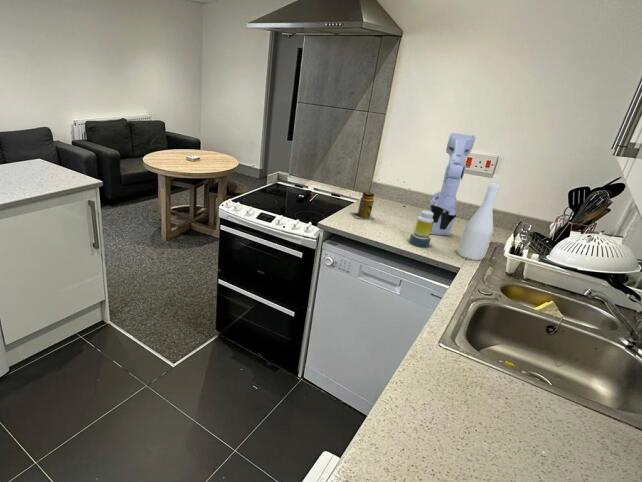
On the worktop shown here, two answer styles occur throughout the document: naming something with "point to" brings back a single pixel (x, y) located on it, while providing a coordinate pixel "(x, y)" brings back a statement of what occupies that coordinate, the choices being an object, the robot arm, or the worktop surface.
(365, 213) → the condiment
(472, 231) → the wine bottle
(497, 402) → the worktop surface
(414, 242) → the tin
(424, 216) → the pill bottle
